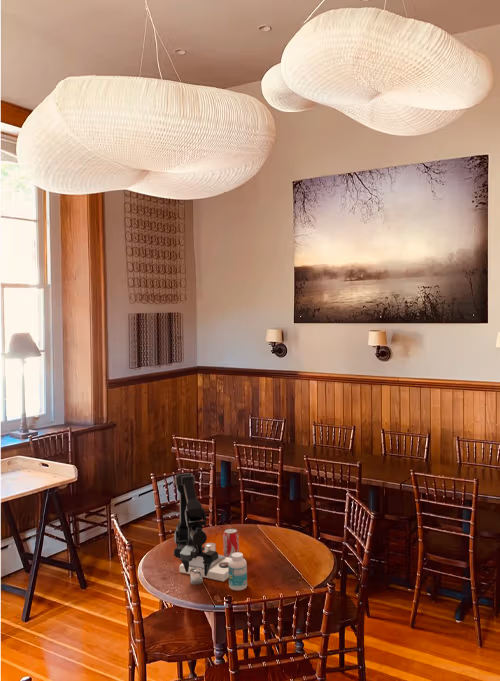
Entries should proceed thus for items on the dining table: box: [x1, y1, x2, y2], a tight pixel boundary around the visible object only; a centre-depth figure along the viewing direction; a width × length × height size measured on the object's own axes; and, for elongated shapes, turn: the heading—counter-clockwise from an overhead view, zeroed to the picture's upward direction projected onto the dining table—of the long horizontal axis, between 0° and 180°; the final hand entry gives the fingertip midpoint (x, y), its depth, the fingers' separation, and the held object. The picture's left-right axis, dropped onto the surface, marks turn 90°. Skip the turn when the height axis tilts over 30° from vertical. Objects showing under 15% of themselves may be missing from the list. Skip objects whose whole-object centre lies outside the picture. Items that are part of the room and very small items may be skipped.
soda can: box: [222, 528, 240, 558], centre depth 278 cm, size 7×7×12 cm
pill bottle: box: [228, 551, 248, 591], centre depth 247 cm, size 8×7×14 cm
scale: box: [179, 554, 232, 582], centre depth 265 cm, size 22×16×4 cm
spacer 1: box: [189, 568, 204, 586], centre depth 253 cm, size 5×5×5 cm
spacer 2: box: [203, 542, 217, 553], centre depth 270 cm, size 5×5×5 cm
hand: (196, 573), depth 253 cm, fingers open, 9 cm apart
